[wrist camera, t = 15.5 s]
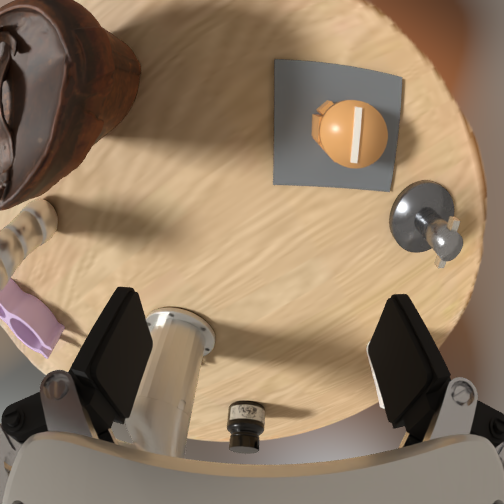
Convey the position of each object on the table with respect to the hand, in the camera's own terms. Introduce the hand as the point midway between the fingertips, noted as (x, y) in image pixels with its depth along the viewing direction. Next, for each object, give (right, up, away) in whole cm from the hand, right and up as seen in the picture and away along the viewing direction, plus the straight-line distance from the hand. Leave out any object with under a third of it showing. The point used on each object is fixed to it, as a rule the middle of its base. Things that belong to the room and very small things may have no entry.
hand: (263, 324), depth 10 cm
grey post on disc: (+22, +7, +21) cm, 32 cm away
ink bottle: (-2, -36, +51) cm, 62 cm away
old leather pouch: (-19, +23, +14) cm, 33 cm away
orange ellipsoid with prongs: (+9, +16, +16) cm, 24 cm away
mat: (+9, +16, +17) cm, 25 cm away
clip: (-51, -10, +37) cm, 64 cm away
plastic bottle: (-32, +9, +24) cm, 41 cm away
